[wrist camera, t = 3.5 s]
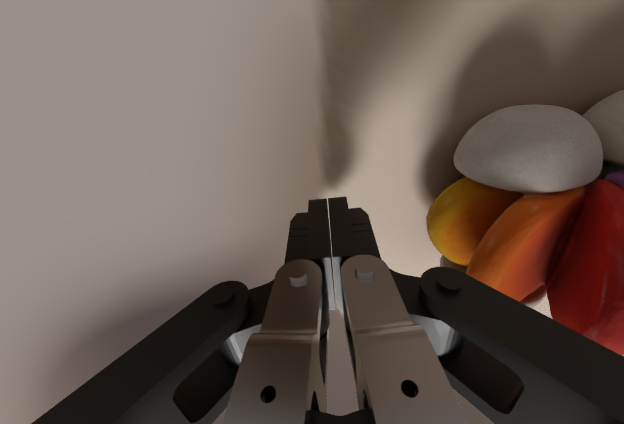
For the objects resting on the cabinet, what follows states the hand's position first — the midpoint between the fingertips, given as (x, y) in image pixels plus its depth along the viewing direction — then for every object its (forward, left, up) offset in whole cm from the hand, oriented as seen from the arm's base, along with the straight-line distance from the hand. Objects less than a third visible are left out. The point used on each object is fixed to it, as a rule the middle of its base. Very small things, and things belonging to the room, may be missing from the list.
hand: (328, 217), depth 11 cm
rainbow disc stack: (-9, 0, -2) cm, 9 cm away
